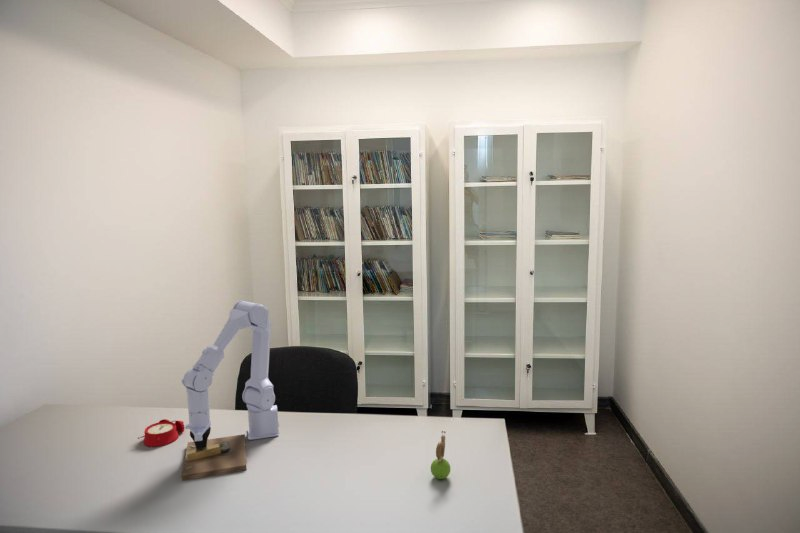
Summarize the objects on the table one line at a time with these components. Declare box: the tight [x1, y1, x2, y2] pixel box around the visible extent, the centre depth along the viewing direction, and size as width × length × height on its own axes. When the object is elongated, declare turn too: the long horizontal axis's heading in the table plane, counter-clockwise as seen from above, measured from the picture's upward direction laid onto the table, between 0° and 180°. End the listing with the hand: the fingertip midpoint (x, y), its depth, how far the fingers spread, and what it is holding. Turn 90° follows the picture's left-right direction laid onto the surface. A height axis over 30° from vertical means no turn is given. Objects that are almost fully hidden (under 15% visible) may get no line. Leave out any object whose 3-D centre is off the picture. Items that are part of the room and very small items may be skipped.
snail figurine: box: [430, 430, 451, 480], centre depth 145 cm, size 5×6×12 cm
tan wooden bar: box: [185, 441, 230, 462], centre depth 156 cm, size 12×3×2 cm, turn 120°
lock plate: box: [181, 434, 247, 481], centre depth 158 cm, size 17×20×2 cm
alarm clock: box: [137, 418, 185, 448], centre depth 172 cm, size 10×6×15 cm
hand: (201, 453), depth 157 cm, fingers closed, pressing on tan wooden bar
